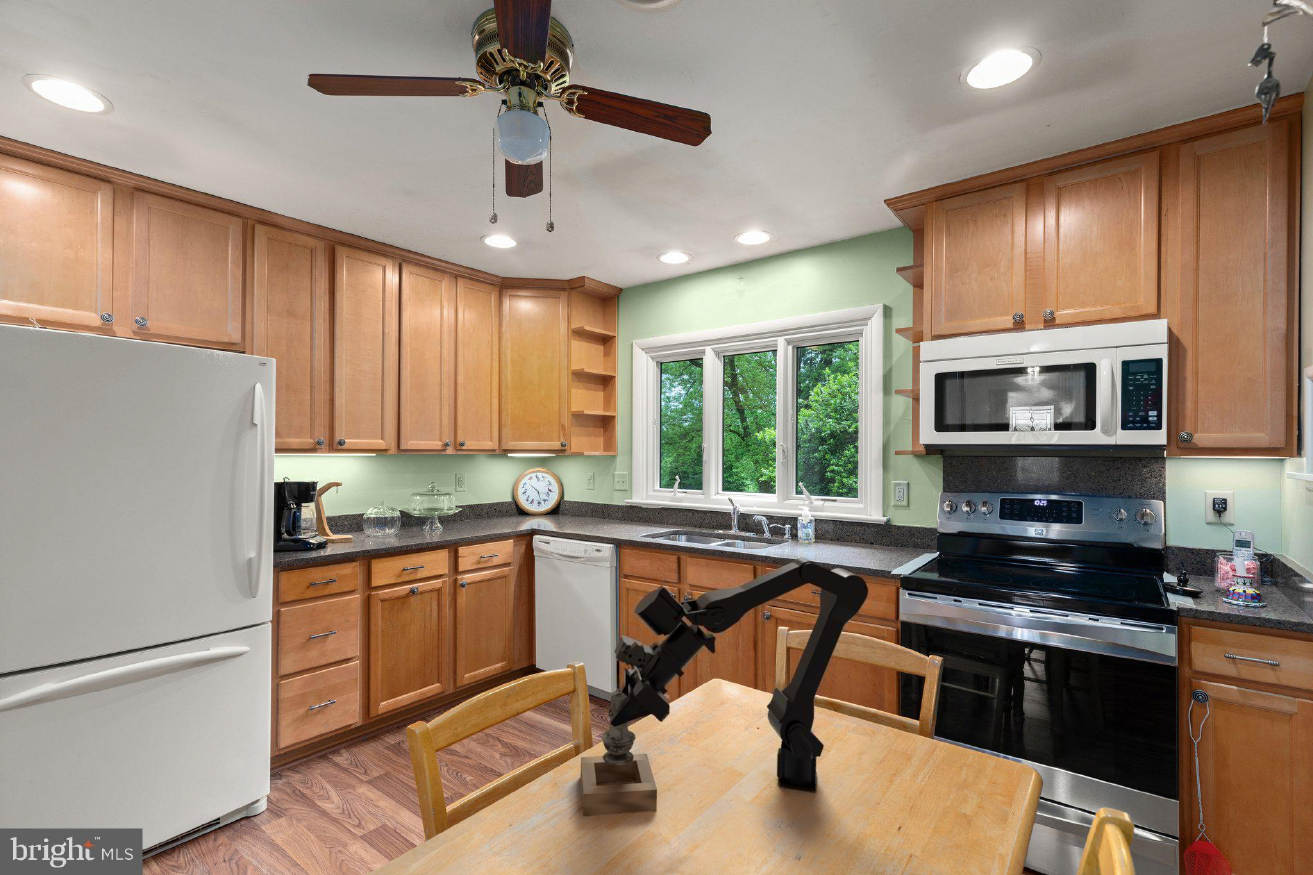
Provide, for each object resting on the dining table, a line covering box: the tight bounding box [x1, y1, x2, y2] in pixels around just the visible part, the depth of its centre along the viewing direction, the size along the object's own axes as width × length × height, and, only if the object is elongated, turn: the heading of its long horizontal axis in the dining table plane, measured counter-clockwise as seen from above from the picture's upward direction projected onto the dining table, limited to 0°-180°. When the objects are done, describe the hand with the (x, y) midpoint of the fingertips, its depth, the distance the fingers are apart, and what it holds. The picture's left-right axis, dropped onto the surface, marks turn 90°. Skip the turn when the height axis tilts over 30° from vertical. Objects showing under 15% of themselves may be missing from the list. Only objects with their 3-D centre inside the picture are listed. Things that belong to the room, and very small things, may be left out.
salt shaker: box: [601, 687, 637, 765], centre depth 109 cm, size 6×6×12 cm
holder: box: [580, 753, 658, 817], centre depth 108 cm, size 12×12×4 cm
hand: (610, 719), depth 108 cm, fingers closed on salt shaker, 4 cm apart
